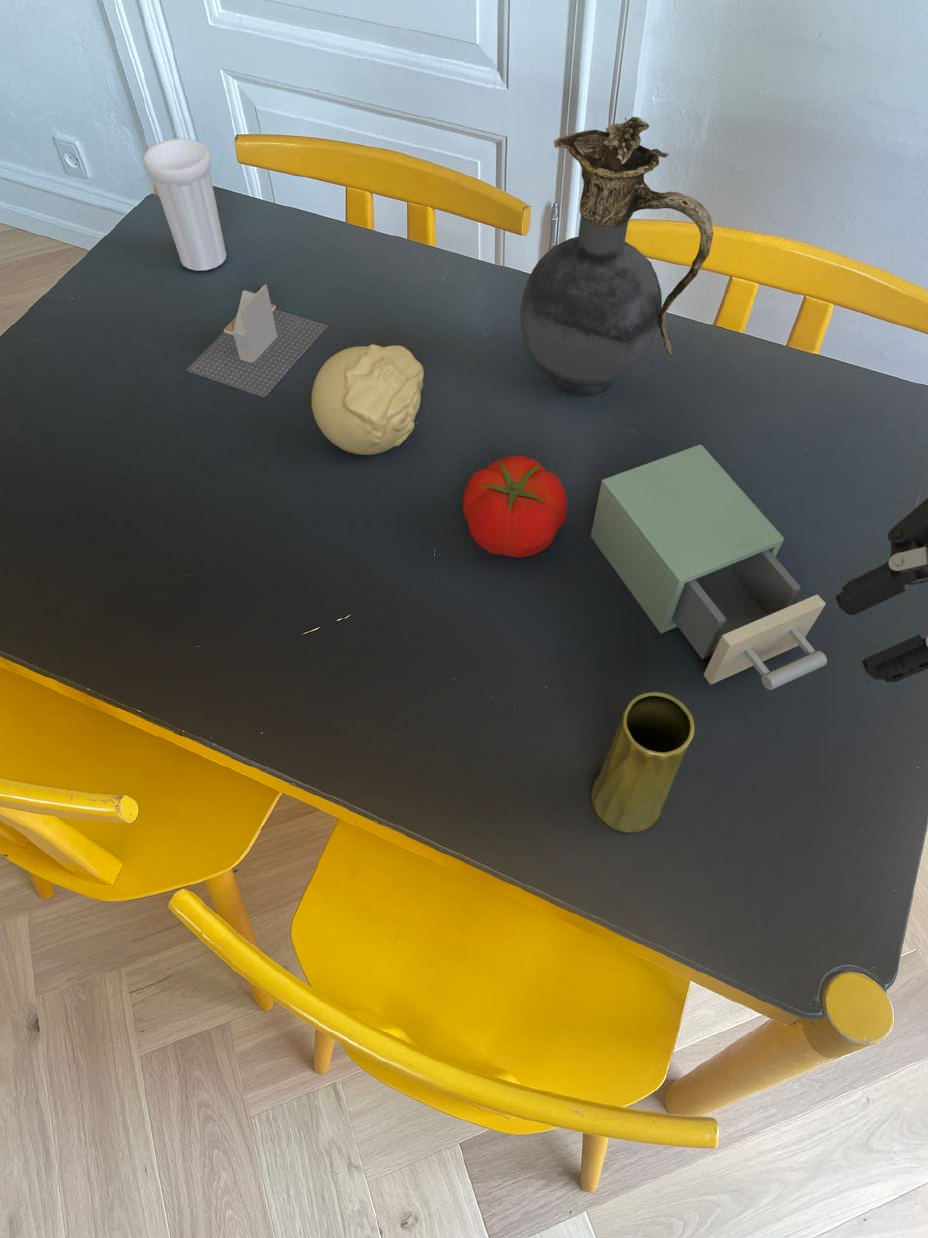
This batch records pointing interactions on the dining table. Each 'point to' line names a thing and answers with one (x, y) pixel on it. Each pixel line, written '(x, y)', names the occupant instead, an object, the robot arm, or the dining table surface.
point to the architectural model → (257, 346)
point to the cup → (188, 200)
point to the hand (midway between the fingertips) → (856, 637)
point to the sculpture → (368, 398)
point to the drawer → (749, 620)
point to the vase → (642, 762)
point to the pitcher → (604, 268)
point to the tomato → (514, 507)
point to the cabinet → (676, 527)
